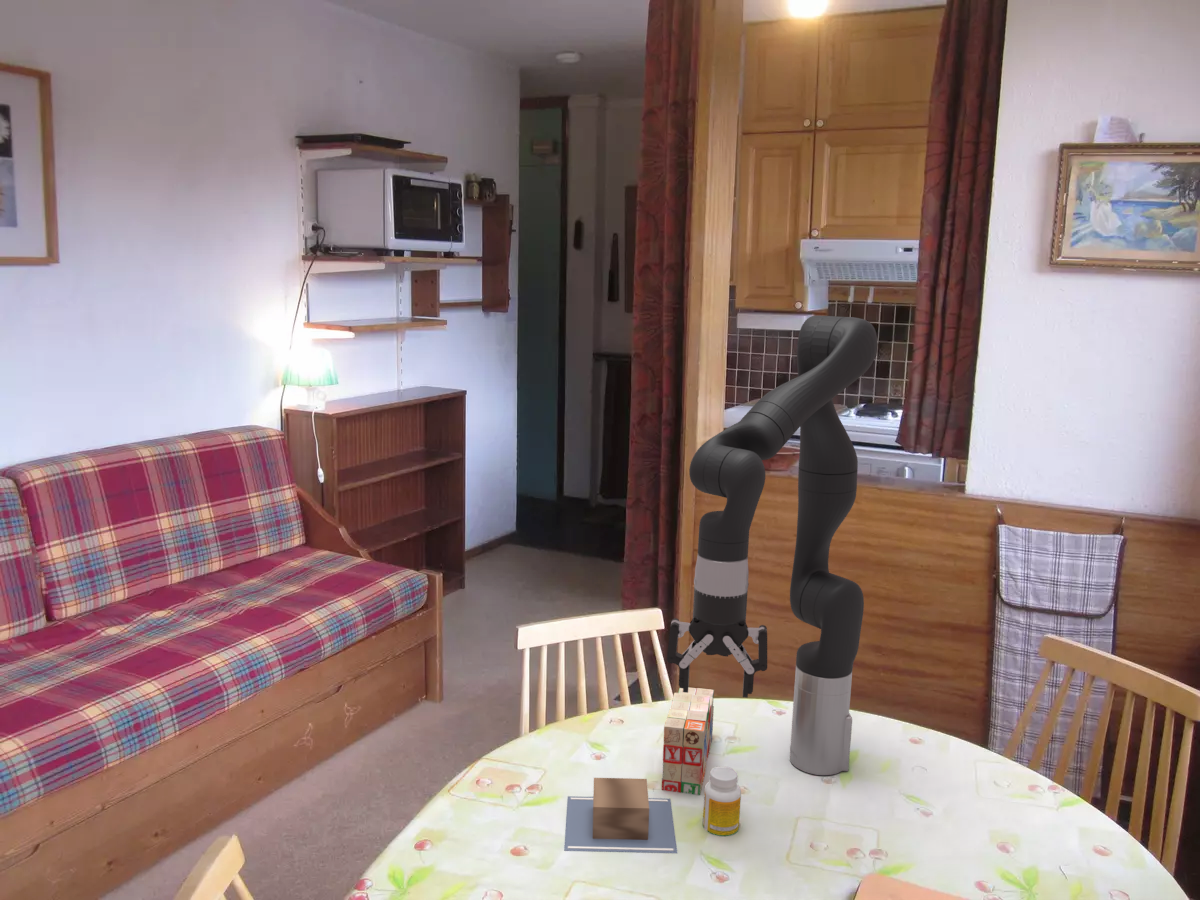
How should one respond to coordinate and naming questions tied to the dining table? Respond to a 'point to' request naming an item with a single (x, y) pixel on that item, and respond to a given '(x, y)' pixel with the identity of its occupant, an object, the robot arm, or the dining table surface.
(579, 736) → the dining table surface
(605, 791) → the walnut plinth
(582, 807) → the blueprint board
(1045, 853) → the dining table surface
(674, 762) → the stack of blocks
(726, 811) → the supplement bottle
